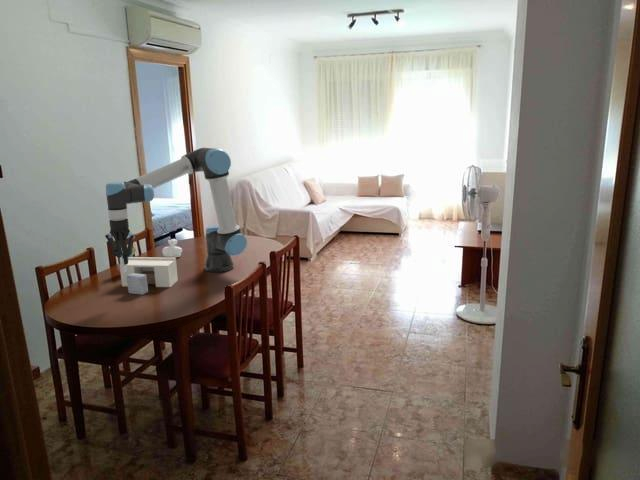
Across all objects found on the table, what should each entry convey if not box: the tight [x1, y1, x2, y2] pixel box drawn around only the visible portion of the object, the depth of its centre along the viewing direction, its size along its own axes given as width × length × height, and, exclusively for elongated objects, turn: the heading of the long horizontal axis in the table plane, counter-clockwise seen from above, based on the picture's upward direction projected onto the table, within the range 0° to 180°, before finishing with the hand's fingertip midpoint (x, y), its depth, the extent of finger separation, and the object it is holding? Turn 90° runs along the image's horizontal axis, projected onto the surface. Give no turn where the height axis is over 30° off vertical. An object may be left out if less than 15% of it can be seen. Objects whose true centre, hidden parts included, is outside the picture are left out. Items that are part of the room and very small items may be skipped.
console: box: [119, 256, 179, 288], centre depth 244 cm, size 24×10×12 cm, turn 84°
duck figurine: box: [161, 238, 183, 258], centre depth 291 cm, size 12×8×11 cm
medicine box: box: [127, 273, 149, 295], centre depth 232 cm, size 8×4×9 cm, turn 71°
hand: (124, 271), depth 220 cm, fingers closed
